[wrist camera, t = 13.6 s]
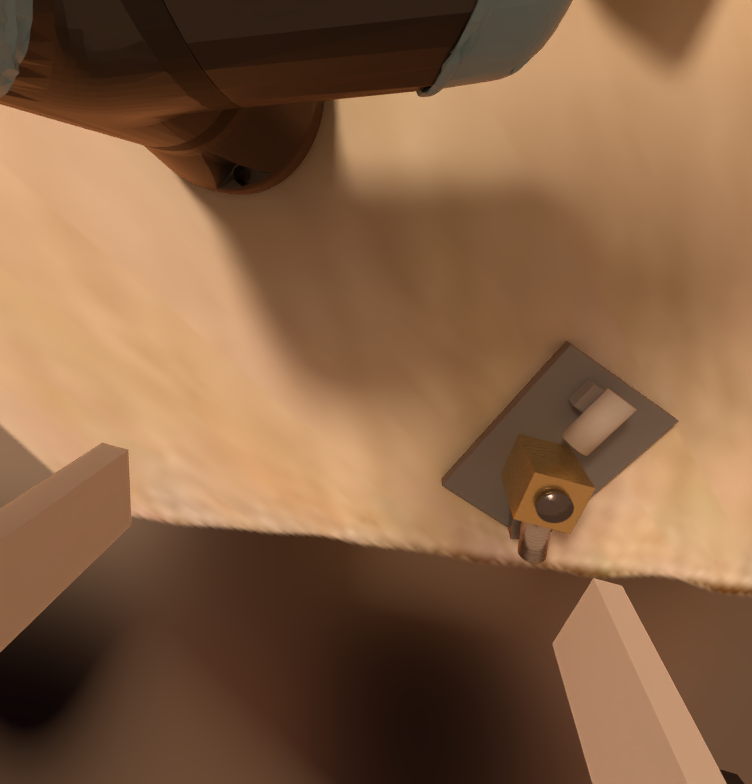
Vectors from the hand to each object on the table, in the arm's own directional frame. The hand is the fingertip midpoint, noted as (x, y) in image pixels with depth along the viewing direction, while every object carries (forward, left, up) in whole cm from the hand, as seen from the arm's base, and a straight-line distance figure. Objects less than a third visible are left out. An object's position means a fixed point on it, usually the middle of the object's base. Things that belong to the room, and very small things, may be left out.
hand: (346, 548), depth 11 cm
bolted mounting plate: (+2, +18, -27) cm, 32 cm away
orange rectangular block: (+3, +17, -26) cm, 31 cm away
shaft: (+8, +21, -26) cm, 34 cm away
